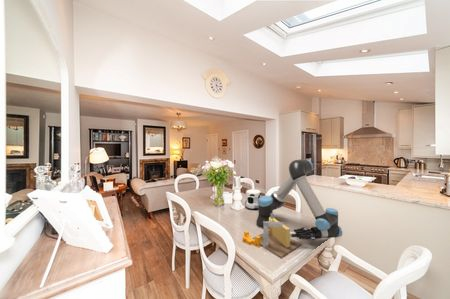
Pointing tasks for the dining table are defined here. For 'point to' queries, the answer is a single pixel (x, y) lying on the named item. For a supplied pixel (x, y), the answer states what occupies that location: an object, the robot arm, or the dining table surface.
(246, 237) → the pipe clamp
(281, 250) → the board
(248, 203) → the white rounded appliance
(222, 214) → the dining table surface
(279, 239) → the hinged door
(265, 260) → the dining table surface
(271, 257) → the dining table surface
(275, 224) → the hook
